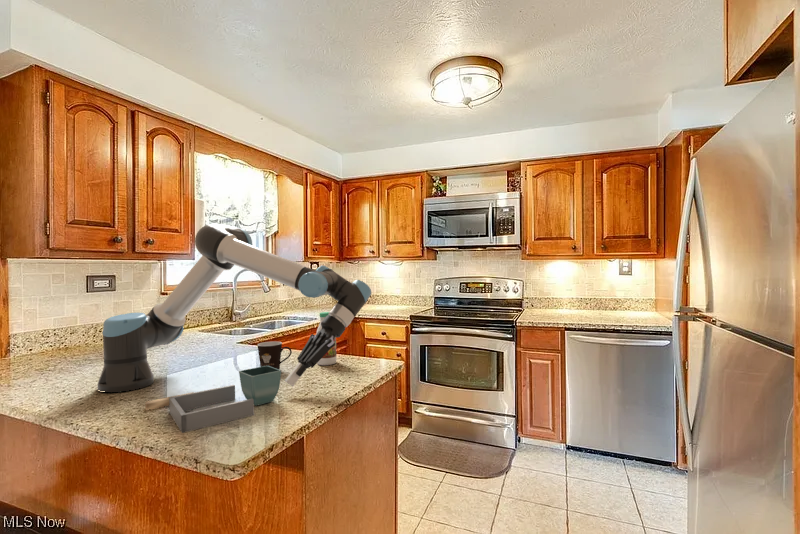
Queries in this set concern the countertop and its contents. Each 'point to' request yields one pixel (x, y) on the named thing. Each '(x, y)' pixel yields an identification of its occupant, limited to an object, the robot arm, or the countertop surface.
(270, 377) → the flower pot
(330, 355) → the milk bottle
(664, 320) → the countertop surface
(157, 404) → the scraper
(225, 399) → the box
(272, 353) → the coffee mug
